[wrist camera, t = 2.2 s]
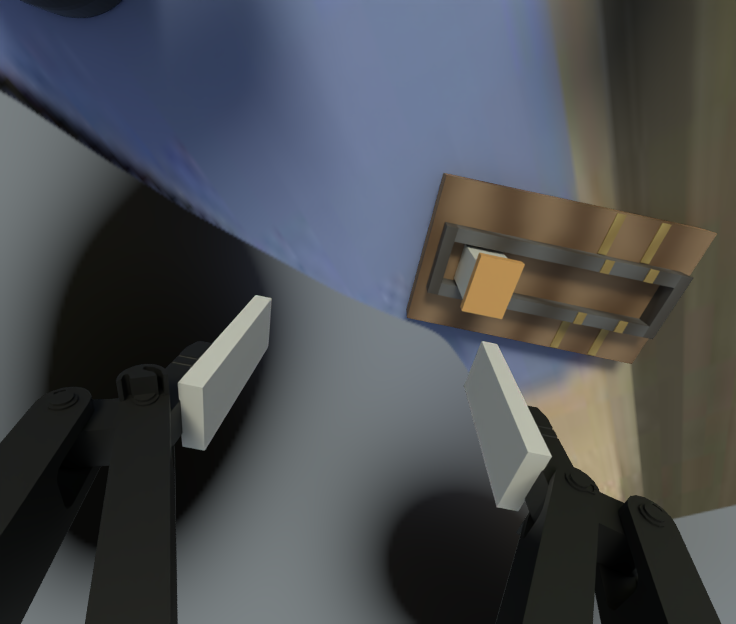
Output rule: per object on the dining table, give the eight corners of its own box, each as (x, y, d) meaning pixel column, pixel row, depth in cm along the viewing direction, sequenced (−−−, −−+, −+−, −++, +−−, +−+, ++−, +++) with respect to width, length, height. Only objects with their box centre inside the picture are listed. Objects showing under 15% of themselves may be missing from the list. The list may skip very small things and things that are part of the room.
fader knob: (451, 284, 34) (461, 310, 29) (467, 236, 32) (481, 255, 27) (486, 291, 34) (502, 319, 29) (504, 243, 32) (524, 264, 27)
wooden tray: (406, 309, 38) (407, 325, 35) (443, 172, 32) (449, 177, 28) (620, 353, 38) (641, 373, 35) (699, 228, 32) (734, 238, 29)
